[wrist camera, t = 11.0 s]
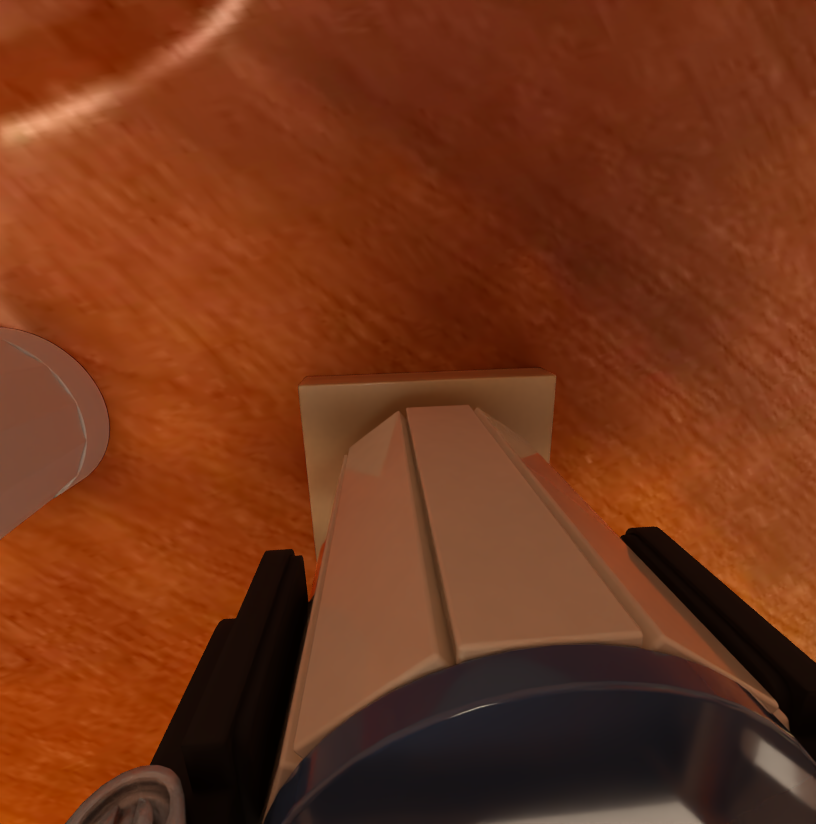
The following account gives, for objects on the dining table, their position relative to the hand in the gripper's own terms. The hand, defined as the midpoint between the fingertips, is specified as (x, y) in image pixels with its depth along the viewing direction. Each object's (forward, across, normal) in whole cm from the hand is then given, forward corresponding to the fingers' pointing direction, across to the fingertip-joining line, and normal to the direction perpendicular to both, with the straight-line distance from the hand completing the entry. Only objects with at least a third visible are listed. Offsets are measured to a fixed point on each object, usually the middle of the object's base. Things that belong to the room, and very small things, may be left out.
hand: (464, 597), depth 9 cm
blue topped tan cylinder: (+4, 0, 0) cm, 4 cm away
